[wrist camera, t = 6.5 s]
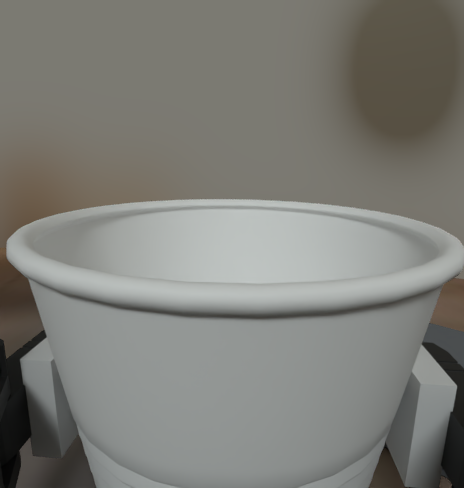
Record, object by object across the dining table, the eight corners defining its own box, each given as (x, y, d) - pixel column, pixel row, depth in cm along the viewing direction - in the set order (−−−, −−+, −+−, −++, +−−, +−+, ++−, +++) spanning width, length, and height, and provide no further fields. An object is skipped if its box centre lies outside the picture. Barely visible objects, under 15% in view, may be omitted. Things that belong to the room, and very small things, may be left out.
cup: (5, 568, 11) (-55, 219, 9) (223, 409, 18) (225, 193, 16) (256, 1124, 5) (307, 410, 2) (440, 547, 12) (502, 221, 9)
